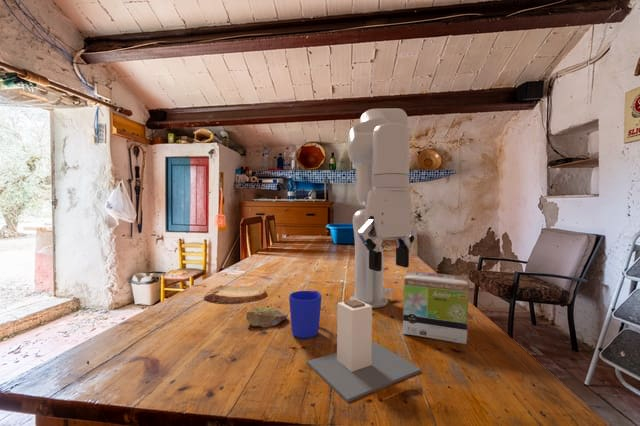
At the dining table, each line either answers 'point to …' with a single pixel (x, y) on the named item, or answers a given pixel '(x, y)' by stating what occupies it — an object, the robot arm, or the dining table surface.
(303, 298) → the mug
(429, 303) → the tea box
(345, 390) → the mat
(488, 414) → the dining table surface
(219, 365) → the dining table surface
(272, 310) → the rock
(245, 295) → the wood slice
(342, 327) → the block
